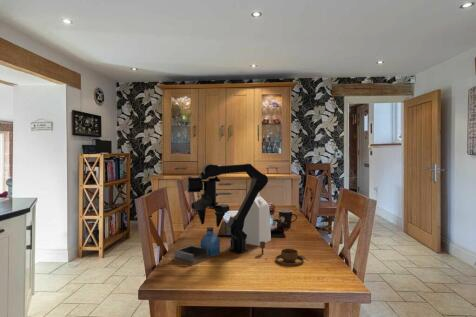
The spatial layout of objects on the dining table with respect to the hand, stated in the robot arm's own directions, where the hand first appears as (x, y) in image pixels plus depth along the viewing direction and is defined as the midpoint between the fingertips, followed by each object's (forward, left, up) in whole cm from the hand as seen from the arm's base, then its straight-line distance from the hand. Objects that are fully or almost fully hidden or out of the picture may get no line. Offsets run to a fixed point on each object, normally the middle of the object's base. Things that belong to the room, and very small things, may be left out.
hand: (210, 225), depth 141 cm
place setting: (-31, -14, -14) cm, 37 cm away
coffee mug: (-5, -66, -13) cm, 67 cm away
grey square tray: (+2, +10, -13) cm, 17 cm away
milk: (-6, -29, -13) cm, 32 cm away
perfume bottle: (0, 0, -13) cm, 13 cm away
